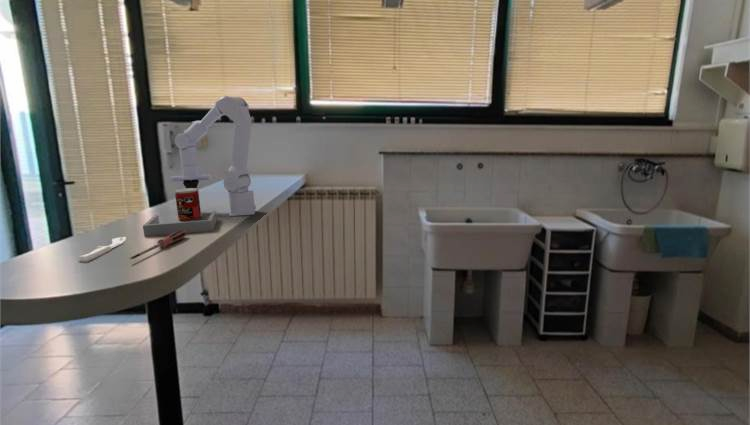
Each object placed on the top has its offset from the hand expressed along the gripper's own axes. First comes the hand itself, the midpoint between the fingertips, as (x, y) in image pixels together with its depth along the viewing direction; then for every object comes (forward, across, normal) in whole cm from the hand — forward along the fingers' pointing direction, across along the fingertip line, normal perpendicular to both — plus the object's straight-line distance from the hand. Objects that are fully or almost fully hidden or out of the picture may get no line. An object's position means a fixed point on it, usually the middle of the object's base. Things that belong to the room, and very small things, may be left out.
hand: (193, 198), depth 163 cm
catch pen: (+5, 0, +26) cm, 26 cm away
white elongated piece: (+6, +18, +41) cm, 45 cm away
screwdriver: (+6, +2, +50) cm, 50 cm away
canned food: (+6, 0, +12) cm, 13 cm away
